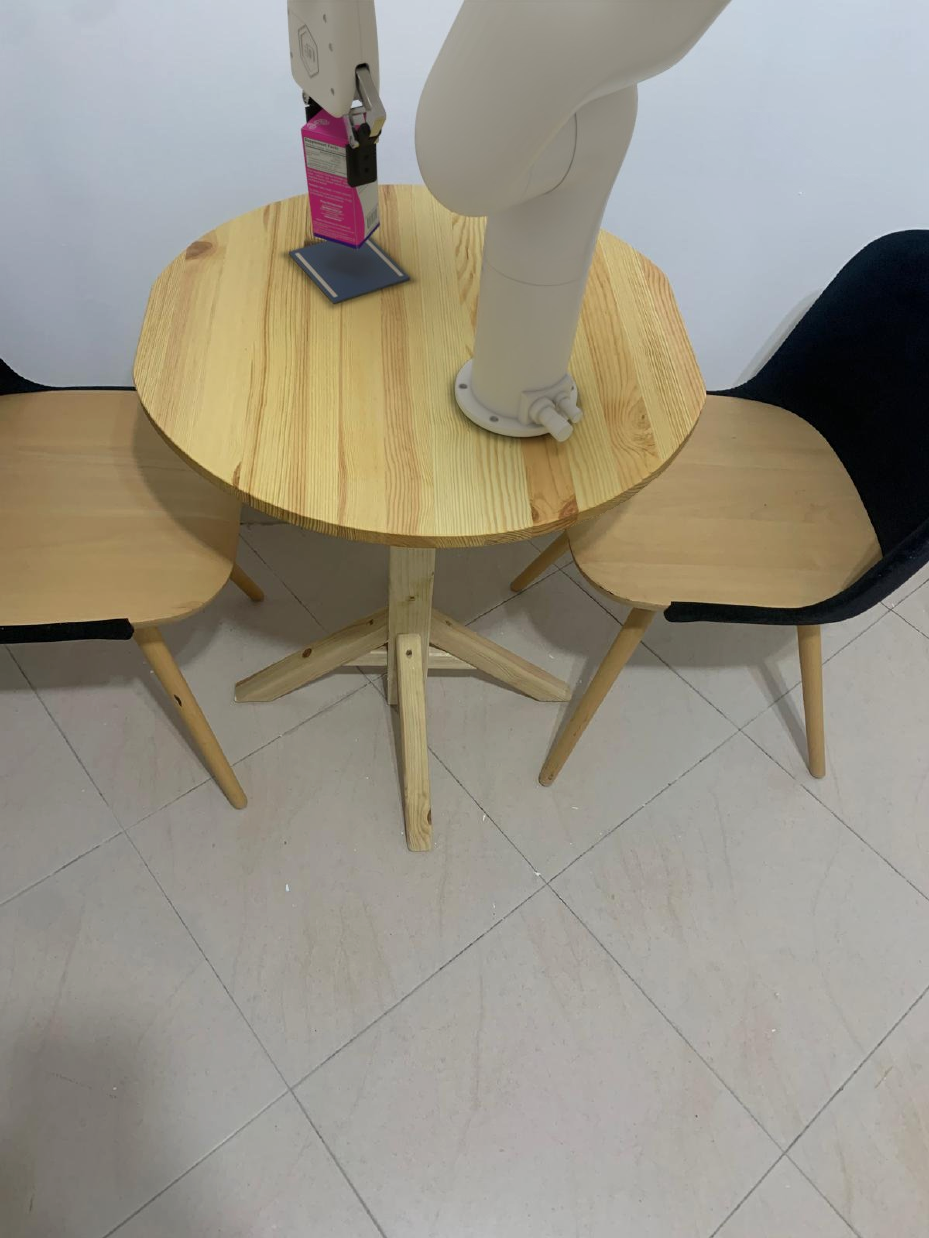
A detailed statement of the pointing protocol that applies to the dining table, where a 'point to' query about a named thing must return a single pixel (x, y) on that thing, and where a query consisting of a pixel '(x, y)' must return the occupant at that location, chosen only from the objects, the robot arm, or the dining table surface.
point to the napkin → (348, 269)
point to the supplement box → (336, 184)
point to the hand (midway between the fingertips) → (342, 163)
